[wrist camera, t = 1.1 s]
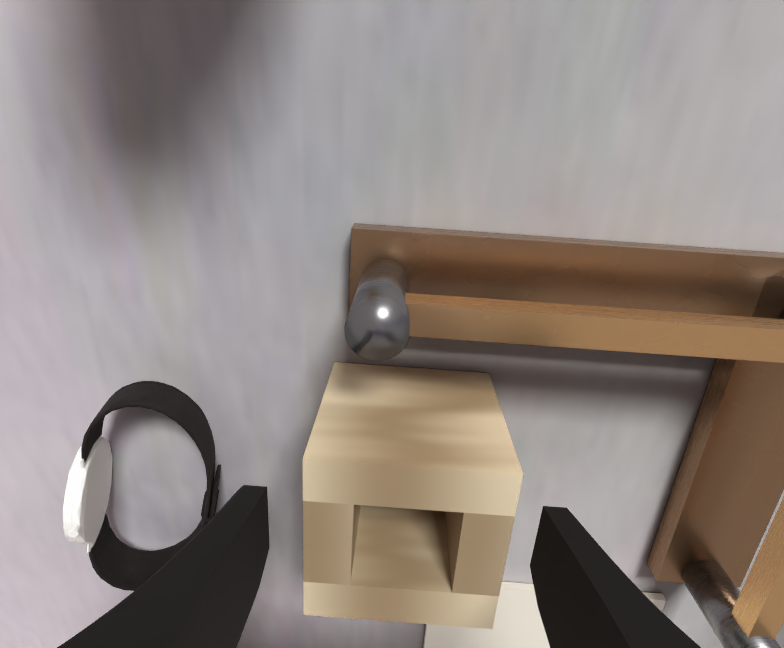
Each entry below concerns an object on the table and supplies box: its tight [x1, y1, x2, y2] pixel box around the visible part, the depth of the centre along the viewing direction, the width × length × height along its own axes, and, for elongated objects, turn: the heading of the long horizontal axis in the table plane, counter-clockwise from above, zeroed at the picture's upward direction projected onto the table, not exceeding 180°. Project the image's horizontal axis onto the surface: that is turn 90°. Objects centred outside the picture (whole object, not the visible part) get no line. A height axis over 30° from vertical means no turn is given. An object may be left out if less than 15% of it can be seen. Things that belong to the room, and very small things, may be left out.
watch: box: [63, 381, 221, 591], centre depth 16 cm, size 8×5×4 cm, turn 170°
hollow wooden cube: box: [303, 362, 523, 629], centre depth 14 cm, size 5×5×5 cm
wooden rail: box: [345, 223, 784, 648], centre depth 14 cm, size 14×12×4 cm
